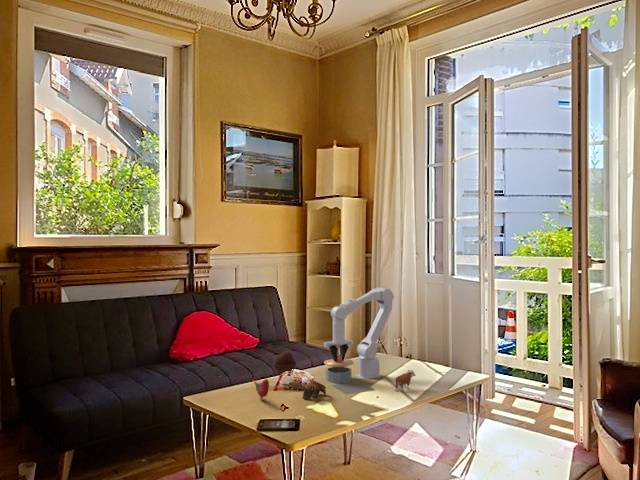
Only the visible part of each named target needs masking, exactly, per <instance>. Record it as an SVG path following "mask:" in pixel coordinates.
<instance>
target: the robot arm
mask: <svg viewBox="0 0 640 480" xmlns="http://www.w3.org/2000/svg"><path fill="white" fill-rule="evenodd" d="M394 298H395V296H394V293H393V290H392V289H390V288H384V287H380V286H377V287H375V288H373V289H371V290H370V291H368V292H367V293H365V294H363V295H361V296H360V297H358V298H357V299H354V298H352V299H351V298H349V299H347V301H346V302H344V303H340V304H339V306H338V305H337V306H334V307H332V309H331V311H330V316H331V318H332V340H331V341H325V342H323V346H324V348H329V350H330V352H331V355H332V359H333V360H334V361H335V362H337V354H338V350H339V349H340V350H339V351H340V352H339V353H340V354H341V355H342V361H344V359H346V358H345V357H346V354H347V352H348V350H349V348H350V347H349V346H350V345H354V340H352V339H346V335H345V333H346V332H345V331H346V330H345V329H346V324H345V322H346V320H345V319H346V318H347V317H348V316H349V315H350V314H352V313H355V312H356V311H358V310H359V307H361V306H362V305H365V304H366V303H369V302H371V301H373V300H374V301H376V303H377V304H378V306H379V310H378V311H377V313H376V316H375V318H374V321H373V322H372V325H371V327H370V329H369V331H368V333H367V335H366V337H365V338H363V339H362V340H361V342H360V343H359V344H358V345H357V346H356V353H357V355H358V373H355V376H356V377H358V378H360V379H362V380H364V379H365V380H366V379H367V380H368V379H375V378H380V377H381V376H380V361H379V359H378V358H377V357H376V356H377V352H378V348H379V345H378V340H379V338H380V336H381V334H382V332H383V329H384V328H385V325H386V323H387V320H388V319H389V316H390V314H391V313H392V311H393V310H392V309H393V300H394ZM338 347H339V348H338Z"/></svg>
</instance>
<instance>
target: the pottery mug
mask: <svg viewBox="0 0 640 480" xmlns="http://www.w3.org/2000/svg"><path fill="white" fill-rule="evenodd" d="M326 388H327V387H326V386H325V385H324V384H322V383H321V382H317V381H315V380H310V381H309V382H308V383H307V384H306V385H305V387H304V390H303V392H302V398H303V399H304V400H307V401H311V399H313V400H317V399H318V397H319V394H320V393H321V392H322V393H323V397H324V398H325V397H326V395H327V394H326V393H327V391H326Z"/></svg>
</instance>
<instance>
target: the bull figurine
mask: <svg viewBox="0 0 640 480" xmlns="http://www.w3.org/2000/svg"><path fill="white" fill-rule="evenodd" d="M413 377H416V373H415V371H414V370H413V369H410V370H409V369H408V370H406V371H405V372H403V373H402V374H400V375H398V376H397V377H395V379H394V381H395V386H394V387H395V392H398V387H399V390H401V392H405V389H404V388H406V389H407V390H409V389H410V387H409V386H410V384H411V380H412V379H411V378H413Z"/></svg>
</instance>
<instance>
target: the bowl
mask: <svg viewBox="0 0 640 480" xmlns="http://www.w3.org/2000/svg"><path fill="white" fill-rule="evenodd" d="M352 375H353V373H352V368H351V367H348V366H346V367H332V366H329V367H326V369H325V380H326V381H327V382H329V383H334V384H335V383H336V384H345V383H350V382H351V381H352Z"/></svg>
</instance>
